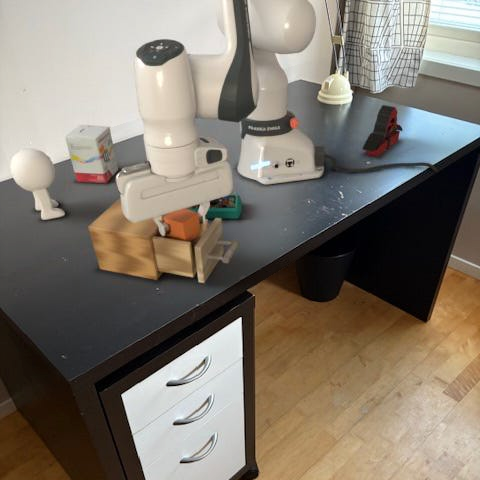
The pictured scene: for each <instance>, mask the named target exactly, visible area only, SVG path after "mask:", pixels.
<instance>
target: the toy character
mask: <svg viewBox="0 0 480 480" xmlns="http://www.w3.org/2000/svg"><path fill="white" fill-rule="evenodd" d="M9 167H10V172H11V177H12V178H13V180H14V182H15V183H16V185H18V186H19V187H20V188H22V189H23V190H24V191H28V192H32V194H33V197H34V202H35V203H34V207H35V210H36V211H40V218H41V220H45V221H47V220H51V219H56V218H57V219H58V218H61V217H64V216H65V215H66V213H65V211H64V210H63V209H62V208H60V207H58V206H59V203H58V202H57V200H55V199H52V198H51V195H50V192H49V190H48V189H49V188H50V187H51V186H52V185H53V183H54V182H55V179H56V169H55V165H54V163H53V161H52V159H51V157H50V156H49V155H47V153H45V152H44V151H43V150H39V149H37V148H24V149H21V150H19V151H16V153H15V154H14V155H13V156H12V158H11V161H10V166H9Z"/></svg>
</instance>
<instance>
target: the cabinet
mask: <svg viewBox="0 0 480 480" xmlns="http://www.w3.org/2000/svg"><path fill="white" fill-rule="evenodd" d="M168 214H169V213H167V214H164V215H161V216H162V220H160V222H161V223H164V217H165V216H166V215H168ZM158 231H159V228H158V225H157V224H156V223H155V222H154V221H153V220H152V218H151V219H147V220H144V221H140V222H137V223H132V222H131V221H129V220H128V219H127V218H126V217H125V216H124V214H123V211H122V206H121V197H119V198H118V199H117V200H116V201H115V202H113V203H112V204H111V205H110V206H109V207H108V208H107V209H106V210H105V211H104V212H102V214H100V215H99V216H98V217H97V218H96V219H95V220H94V221H93V222H92V223H91V224H90V225H88V233H89V235H90V239H91V242H92V246H93V249H94V253H95V257H96V261H97V263H98V267H99V270H103V271H108V272H112V273H117V274H124V275H128V276H134V277H139V278H144V279H150V280H155V281H158V280H159V279H160V277H161V276H162V275H163V273H164V272H161V271H158V270H157V265H156V260H155V254H154V249H153V244H152V237H153V236H154V235H155V234H156V233H157V232H158Z"/></svg>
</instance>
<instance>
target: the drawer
mask: <svg viewBox="0 0 480 480" xmlns="http://www.w3.org/2000/svg"><path fill="white" fill-rule="evenodd" d="M205 220H206V222H205V223H203V224H200V235H198V236H197V237H196V238H194V239H193V240H192V241H191V242H186V241H180V240H174V239H168V238H167V235H165V236H162V235H161V234H160V232H159V231H158V232H157V233H156V234H155V235H154V236H153V237H152V244H153V249H154V254H155V260H156V265H157V270H158V271H161V272H163V273H167V274H171V275H177V276H183V277H189V278H194V277H195V276H196V275H197V281H198V283H201V284H205V283H206V281H207V280H208V279H209V276H210V275H211V274H212V272H213V271H214V269H215V268H216V266H217V265H218V263H219V262H220V261H222V263H223V264H229V263H230V261H231V259H232V257H233V256H234V254H235V253H236V252H237V249H238V248H239V246H240V245H241V242H240V241H239V240H238V239H233V240H231V241H230V240H224V236H223V235H224V234H223V222H222V220H223V219H221V218H215V219H213V221H212V222H211V223H210V224H209V219H205ZM224 246H229V247H228V248H227V250H226V252H225V250H224Z"/></svg>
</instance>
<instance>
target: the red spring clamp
mask: <svg viewBox="0 0 480 480" xmlns="http://www.w3.org/2000/svg"><path fill="white" fill-rule="evenodd" d="M403 131H404V130H403V127H402V125H400V124H398V109H397V107H395V106H390V105H386V104H382V105H381V107H380V108H379V110H378V113H377V115H376V120H375V124H374V126H373V130H372V132H371V133H370V134H369V135H368V137H367V139H366V140H365V142H364V145H363V146H362V148H361V150H363V151H365V155H368V156H372V157H375V158H379V157H380V156H381V155H382V154H383V153H384V152H386V151H388V150H389V149H390V148H391V147H393V146H394V145H395V144H396V143H398V142H399V137H400V132H403Z"/></svg>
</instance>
